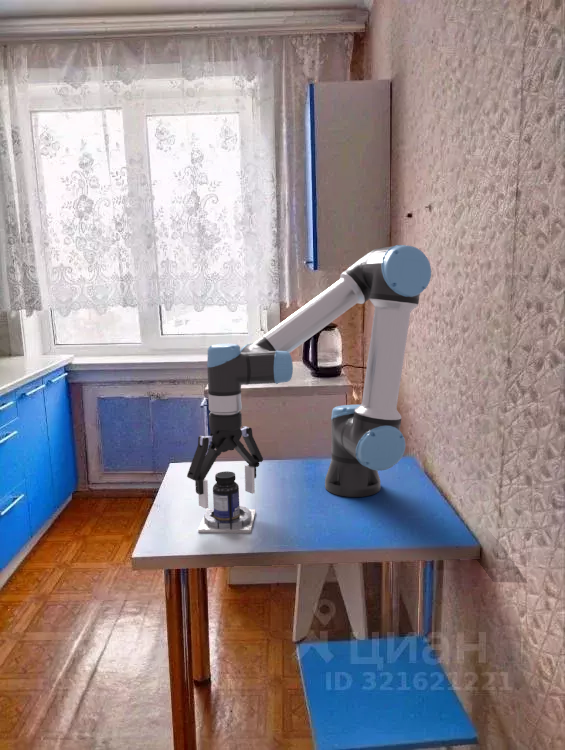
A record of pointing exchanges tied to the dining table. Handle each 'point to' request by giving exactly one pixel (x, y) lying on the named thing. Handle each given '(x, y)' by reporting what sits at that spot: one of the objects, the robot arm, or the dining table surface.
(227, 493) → the pill bottle
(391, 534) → the dining table surface
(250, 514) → the hub plate
